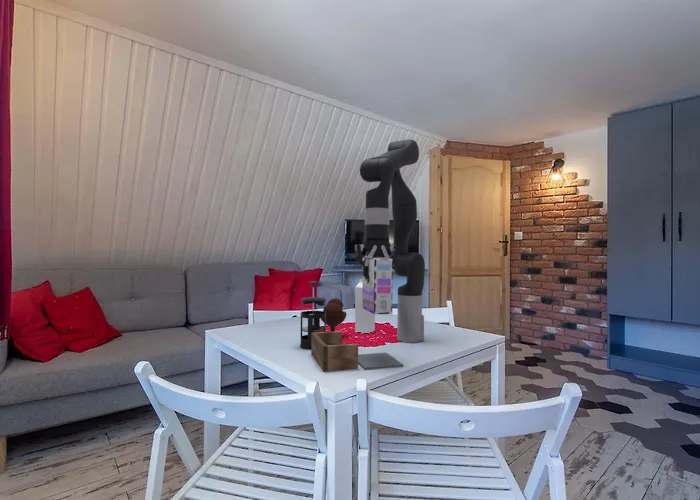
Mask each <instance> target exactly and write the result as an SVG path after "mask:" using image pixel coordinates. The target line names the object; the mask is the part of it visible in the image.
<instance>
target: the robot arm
mask: <svg viewBox="0 0 700 500" xmlns="http://www.w3.org/2000/svg"><path fill="white" fill-rule="evenodd" d="M419 150H420V148H419V145H418V143H417V141H416V140H414V139H404V140H397V141H391V142H390V143H389V144H388V147H387V151H385V152H384V153H382V154H380V155H378V156H374V157H370V158H366V159H364V160H363V161H362V162H361V164H360V167H359V175H360V177H361V179H362V180H363V181H364V182H366V183H377V182H378V183H379V182H380V183H379V184H378V186H377V187H374V188H370V189H369V190H367V191H366V193H365V211H364V212H365V213H364V242H363V243H361V244H355V245H354V254H355V261H356V264H357V265H360V266H363V272H362V273H363V274H362V278H363V277H365V279H369V267H368V264H369V260H370V259H371V258H390V259H393V271H394V272H395V274H396V275H397V276H400V277H404V278H405V277H406V278H407V281H406V283H405V284H403V285H401V286H398V287H397V318H396V319H397V321H396V323H397V324H396V325H397V331H396V332H397V333H396V336H397V337H396V338H397V339H396V340H397V341H400V342H404V343H420V342H423V341H425V315H423V290H424V287H425V285H424V284H425V272H426V263H425V262H426V261H425V259H424V256H423V255H422V254H421V253H418V252H409V246H408V245H409V238H410V235H411V233H412V231H413V229H414V227H415V224H416V223H417V220H418V219H417V218H418V207H417V205H418V204H417V199H416V197H415V195H414V194H413V192H412V190H411V189H410V188H409V186H408V185H407V184H406V183H405V181H404V179H403V177H402V173H401V168H403V167H405V166H410V165H414V164H416V163H417V162H418V161H419V157H420V151H419ZM390 190H391V206H392V207H391V208H392V209H391V210H392V211H391V213H392V221H393V222H392V223H393V226H392V227H393V244H391V243H390V223H391V222H390V212H389V211H390V210H389V207H390V206H389V201H390V200H389V199H390V197H389V196H390ZM389 249H390V252H391V253H390V254H391V255H390V256H389V254H388V251H389ZM364 250H365V251H366V253H365V256H364V257H363V255H362V252H363V251H364ZM362 258H364V261H362Z"/></svg>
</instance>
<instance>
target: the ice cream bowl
mask: <svg viewBox="0 0 700 500" xmlns="http://www.w3.org/2000/svg"><path fill="white" fill-rule="evenodd" d="M343 307H344V303H343V300H341V299H340V298H336V297H335V298H331V299H330V300H328V302H327V304H325V305H324V307H323V310H322V311H324V312H326V326H328V327H329V328H330V329H329V330H330V331H329V332H334V331H336V327H337V326H339V325H340V324H342V323H343V322H344V321H345V319H346V317H347V312H346V311H343ZM324 318H325V317H324ZM324 318H320V321H321V322H322V323H324Z"/></svg>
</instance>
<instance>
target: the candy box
mask: <svg viewBox="0 0 700 500" xmlns="http://www.w3.org/2000/svg"><path fill="white" fill-rule="evenodd" d="M364 258H365V257H362V261H364ZM361 266H362V265H361ZM368 267H369V279H365V277H363V276H362V279H363V309H365V310H367V311H369V312H371V313H373V314H375V315H392V314H393V274H394V273H393V272H394V266H393V259H391V257H389V258H381V257H372V258H371V259H370V260H369V264H368ZM361 269H362V275H363V266H362V267H361Z"/></svg>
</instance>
